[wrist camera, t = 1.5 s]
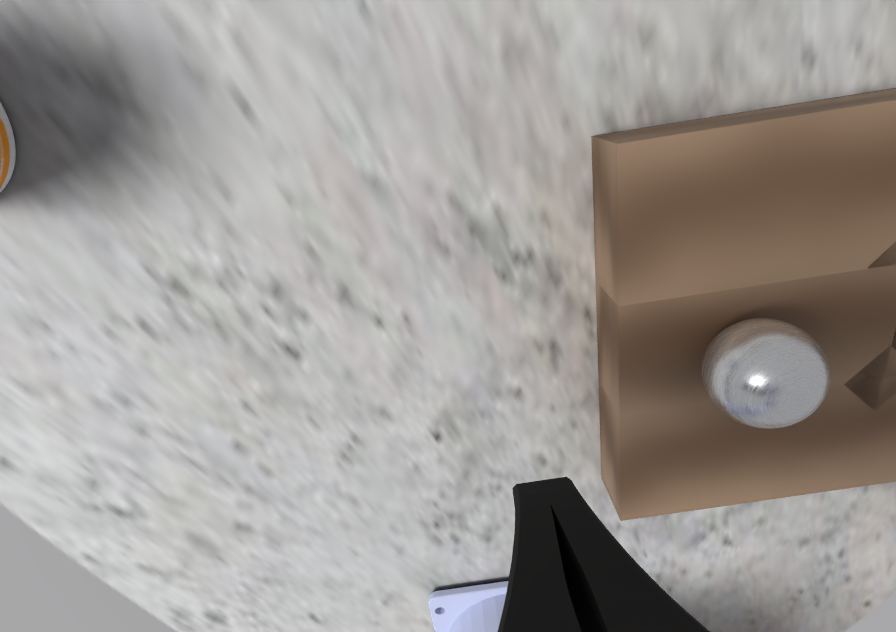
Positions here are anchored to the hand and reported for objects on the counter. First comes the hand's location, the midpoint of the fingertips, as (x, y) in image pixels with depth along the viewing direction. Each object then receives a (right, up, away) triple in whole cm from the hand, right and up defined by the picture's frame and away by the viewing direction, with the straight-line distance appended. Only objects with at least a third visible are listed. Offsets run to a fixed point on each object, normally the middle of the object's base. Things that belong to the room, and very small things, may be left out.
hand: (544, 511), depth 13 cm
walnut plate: (+12, +5, +8) cm, 15 cm away
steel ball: (+8, +3, +4) cm, 9 cm away
